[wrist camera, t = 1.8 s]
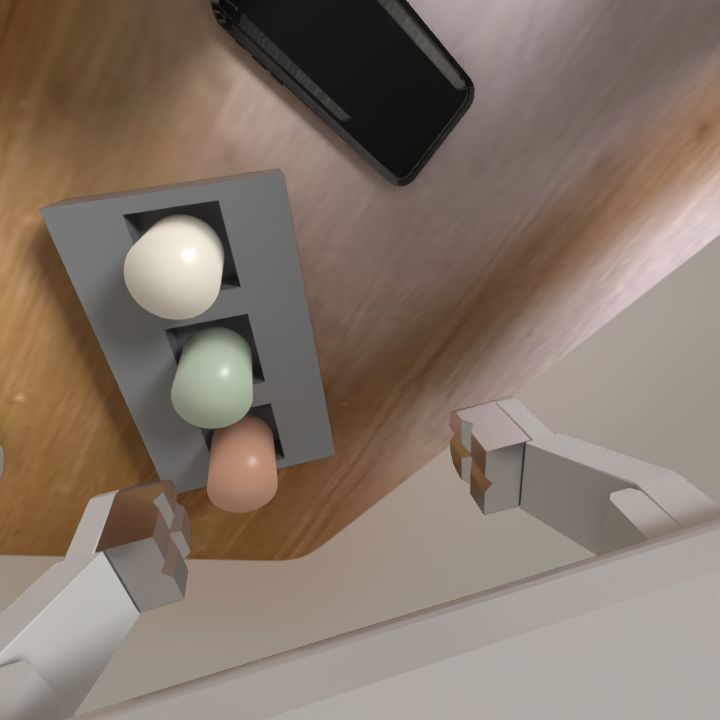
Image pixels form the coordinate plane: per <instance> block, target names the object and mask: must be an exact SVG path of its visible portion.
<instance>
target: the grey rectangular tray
mask: <svg viewBox="0 0 720 720" xmlns="http://www.w3.org/2000/svg"><path fill="white" fill-rule="evenodd" d="M39 210H40V213H41V215H42V217H43V219H44V222H45V224H46V226H47V228H48V230H49V233H50V235H51V237H52V239H53V242H54V244H55V246H56V248H57V250H58V253H59V255H60V257H61V259H62V262H63V264H64V266H65V268H66V271H67V273H68V275H69V277H70V279H71V282H72V284H73V286H74V288H75V291H76V293H77V295H78V297H79V299H80V302H81V304H82V306H83V308H84V311H85V313H86V315H87V317H88V319H89V322H90V324H91V326H92V328H93V331H94V333H95V335H96V337H97V339H98V342H99V344H100V346H101V348H102V351H103V353H104V355H105V357H106V359H107V362H108V364H109V366H110V368H111V371H112V373H113V375H114V377H115V379H116V382H117V384H118V386H119V388H120V391H121V393H122V395H123V397H124V399H125V402H126V404H127V406H128V408H129V411H130V413H131V415H132V417H133V419H134V422H135V424H136V426H137V428H138V431H139V433H140V435H141V437H142V440H143V442H144V444H145V446H146V448H147V451H148V453H149V455H150V457H151V460H152V462H153V464H154V466H155V468H156V471H157V473H158V475H159V477H160V480H166V479H170V480H172V481H173V483H174V485H175V487H176V489H177V491H178V494H179V493H183V492H187V491H191V490H195V489H199V488H203V487H207V480H208V471H209V462H210V452H211V443H212V436H213V433H214V431H215V429H208V428H202V427H198V426H195V425H192V424H190V423H188V422H187V421H185V420H184V419H183V418H182V417H180V415H179V414H178V413H177V412H176V410H175V409H174V407H173V404H172V401H171V390H172V386H173V382H174V379H175V375H176V372H177V368H178V365H179V361H180V358H181V354H182V350H183V347H184V345H185V343H186V341H187V340H188V339H189V337H190V336H191V335H193V334H194V333H195V332H197V331H199V330H201V329H204V328H207V327H224V328H228V329H231V330H233V331H235V332H237V333H238V334H240V335H241V336H242V337H243V338H244V339H245V340H246V341H247V343H248V345H249V347H250V349H251V354H252V383H253V400H252V404H251V407H250V409H249V410H248V412H247V413H246V415H251V416H255V417H258V418H260V419H262V420H264V421H265V422H266V423H267V424H268V425H269V426H270V428H271V430H272V432H273V438H274V448H275V459H276V470H277V469H281V468H285V467H289V466H293V465H297V464H301V463H305V462H309V461H313V460H318V459H322V458H326V457H330V456H334V455H335V449H334V444H333V438H332V433H331V427H330V422H329V417H328V411H327V406H326V400H325V395H324V390H323V384H322V379H321V373H320V368H319V362H318V357H317V352H316V346H315V341H314V335H313V330H312V325H311V319H310V314H309V308H308V303H307V297H306V292H305V287H304V281H303V276H302V270H301V265H300V260H299V254H298V249H297V243H296V238H295V232H294V227H293V222H292V216H291V211H290V205H289V200H288V195H287V189H286V184H285V178H284V173H283V172H282V171H281V170H280V169H273V170H266V171H259V172H252V173H245V174H239V175H232V176H225V177H218V178H211V179H204V180H197V181H191V182H184V183H177V184H170V185H163V186H156V187H149V188H143V189H136V190H129V191H122V192H115V193H108V194H101V195H95V196H88V197H81V198H74V199H67V200H62V201H59V202H56V203H54V204H51V205H49V206H46V207H43V208H41V209H39ZM176 214H184V215H190V216H193V217H196V218H199V219H201V220H202V221H204V222H206V223H207V224H208V225H210V226H211V227H212V228H213V229H214V230H215V232H216V233H217V234H218V236H219V237H220V240H221V242H222V244H223V248H224V255H225V258H224V266H223V272H222V278H221V285H220V290H219V293H218V296H217V298H216V300H215V301H214V303H213V304H212V305H211V306H210V307H209V308H208V309H207V310H206V311H205V312H203V313H202V314H200V315H198V316H195V317H193V318H189V319H182V320H173V319H166V318H162V317H159V316H156V315H154V314H152V313H150V312H149V311H147V310H145V309H144V308H143V307H142V306H140V305H139V304H138V303H137V302H136V301H135V299H134V298H133V297H132V295H131V294H130V292H129V290H128V288H127V286H126V283H125V279H124V262H125V259H126V256H127V254H128V252H129V251H130V249H131V248H132V246H133V245H134V244H135V243H136V242H137V241H138V240H139V239H140V238H141V237H142V236H143V235H144V234H145V233H146V232H147V231H148V230H149V229H150V228H151V227H152V226H153V225H154V224H155V223H156V222H157V221H159V220H160V219H162V218H164V217H167V216H170V215H176Z"/></svg>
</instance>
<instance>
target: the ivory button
mask: <svg viewBox="0 0 720 720" xmlns="http://www.w3.org/2000/svg"><path fill="white" fill-rule="evenodd" d="M224 258H225V255H224V248H223V244H222V242H221V240H220V237H219V236H218V234H217V233H216V232H215V230H214V229H213V228H212V227H211V226H210V225H208V224H207V223H206V222H204V221H202V220H201V219H199V218H196V217H193V216H190V215H184V214H176V215H170V216H167V217H164V218H162V219H160V220H159V221H157V222H156V223H155V224H154V225H153V226H152V227H151V228H150V229H149V230H148V231H147V232H146V233H145V234H144V235H143V236H142V237H141V238H140V239H139V240H138V241H137V242H136V243H135V244H134V245H133V246H132V248H131V249H130V251H129V252H128V254H127V256H126V259H125V262H124V279H125V283H126V286H127V288H128V290H129V292H130V294H131V295H132V297H133V298H134V299H135V301H136V302H137V303H138V304H139V305H140V306H142V307H143V308H144V309H145V310H147V311H149V312H150V313H152V314H154V315H156V316H159V317H162V318H166V319H173V320H182V319H189V318H193V317H195V316H198V315H200V314H202V313H203V312H205V311H206V310H207V309H208V308H209V307H210V306H211V305H212V304H213V303H214V301H215V300H216V298H217V296H218V293H219V290H220V285H221V278H222V272H223V266H224Z"/></svg>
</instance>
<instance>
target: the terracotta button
mask: <svg viewBox="0 0 720 720" xmlns="http://www.w3.org/2000/svg"><path fill="white" fill-rule="evenodd" d="M277 486H278V481H277V470H276V459H275V448H274V438H273V432H272V430H271V428H270V426H269V425H268V424H267V423H266V422H265V421H264V420H262V419H260V418H258V417H255V416H251V415H245V416H244V417H243V418H242V419H240V420H239V421H237V422H236V423H234V424H232V425H229V426H227V427H223V428H216V429H215V431H214V433H213V436H212V443H211V452H210V462H209V471H208V480H207V494H208V497H209V499H210V500H211V501H212V503H213V504H214V505H216V506H217V507H219V508H220V509H223V510H225V511H229V512H236V513H243V512H249V511H253V510H256V509H258V508H260V507H262V506H264V505H265V504H267V503H268V502H269V501H270V500H271V499H272V498H273V496H274V495H275V493H276V490H277Z"/></svg>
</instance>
